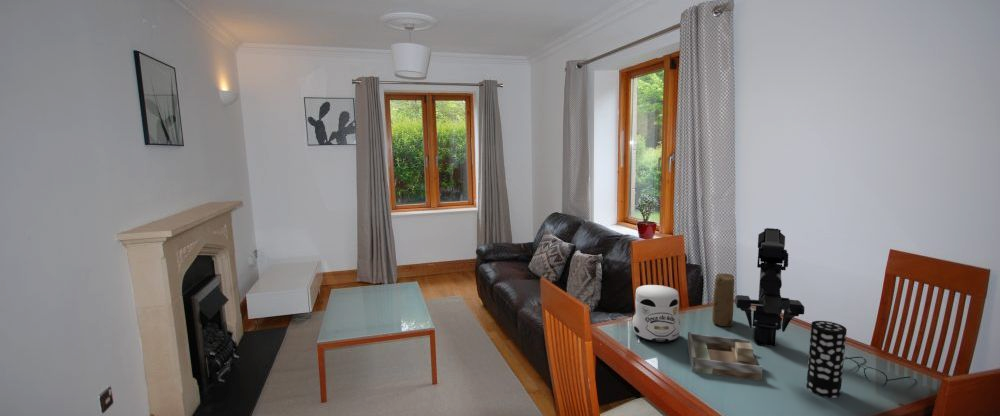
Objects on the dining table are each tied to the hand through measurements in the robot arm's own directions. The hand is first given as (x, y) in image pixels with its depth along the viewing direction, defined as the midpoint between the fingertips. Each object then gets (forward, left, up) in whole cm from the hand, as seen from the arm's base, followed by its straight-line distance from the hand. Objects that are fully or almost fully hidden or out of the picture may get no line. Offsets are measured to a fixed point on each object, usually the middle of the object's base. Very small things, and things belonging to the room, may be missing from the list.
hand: (766, 329), depth 147 cm
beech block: (+6, 0, -11) cm, 13 cm away
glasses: (-32, -5, -14) cm, 35 cm away
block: (+8, -36, -13) cm, 39 cm away
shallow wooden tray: (+13, 0, -13) cm, 18 cm away
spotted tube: (-13, +11, -13) cm, 22 cm away
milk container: (+34, -15, -13) cm, 39 cm away
